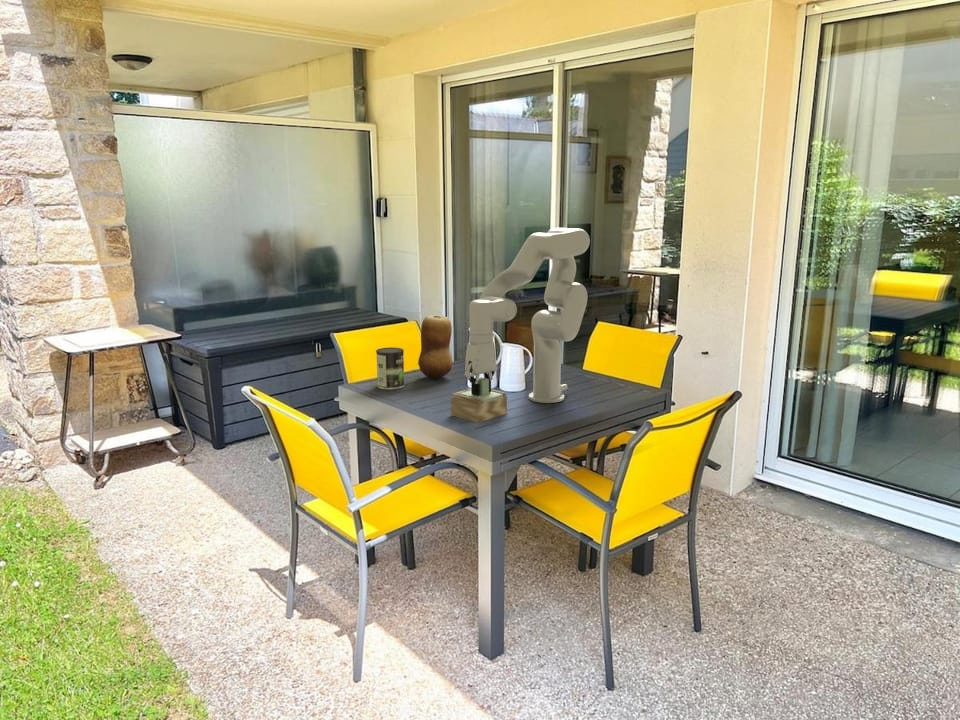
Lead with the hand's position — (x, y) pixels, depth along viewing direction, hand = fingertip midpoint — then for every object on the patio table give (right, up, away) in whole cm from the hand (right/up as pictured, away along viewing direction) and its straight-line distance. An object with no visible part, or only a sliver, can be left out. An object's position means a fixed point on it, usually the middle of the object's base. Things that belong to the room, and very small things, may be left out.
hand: (481, 392), depth 230 cm
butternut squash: (-18, +3, +49) cm, 52 cm away
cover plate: (0, -2, 0) cm, 2 cm away
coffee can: (-34, 0, +37) cm, 51 cm away
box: (-1, -7, +2) cm, 8 cm away
